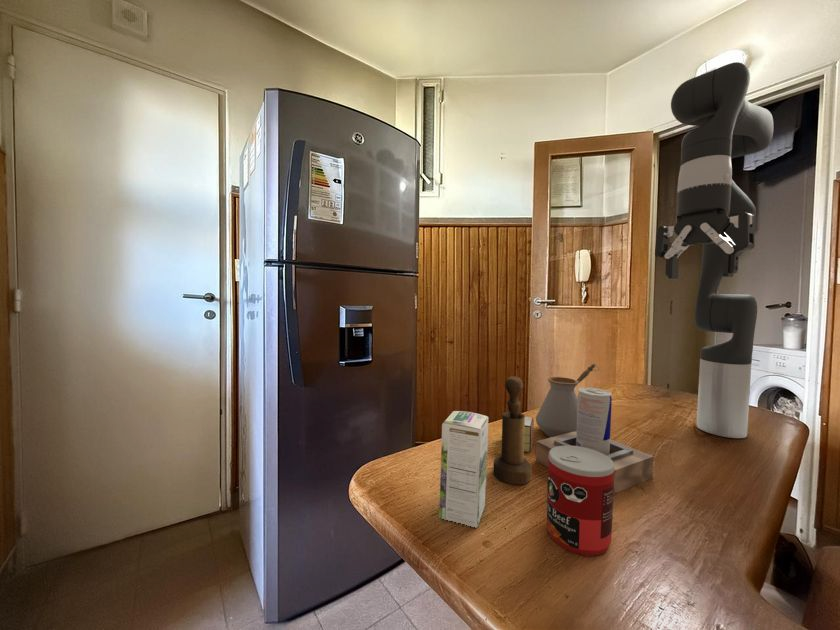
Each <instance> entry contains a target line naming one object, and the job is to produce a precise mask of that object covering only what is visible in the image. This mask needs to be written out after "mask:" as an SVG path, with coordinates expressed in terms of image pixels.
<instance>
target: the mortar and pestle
mask: <svg viewBox="0 0 840 630" xmlns="http://www.w3.org/2000/svg"><path fill="white" fill-rule="evenodd" d="M504 386H505V388H506V390H507V393H508V394H509V400H507V407H508V411H505V412H503V413H502V417H501V418H502V421H501V425H502V426H501V453H500V454H499V455H498V456H496V457H495V458H494V459H493V469H492V471H493V472H492V473H493V475H494V477H495V478H497V480H499V481H501V482H503V483H506V484H510V485H518V486H519V485H525V484H528V483H529V482H531V480H532V465H531V463H530V462H529V461H528V460H527V459H526V458H525V452H524V427H525V417H526V416H525V414H523V413H521V412H520V409H521V404H522V403H521V401H520V400H519V395H520V393H521V392H522V391H523V388H524V383H523V380H522V379H521V378H520V377H518V376H513V375H512V376H509V377H508V378H507V379H506V380H505V385H504Z"/></svg>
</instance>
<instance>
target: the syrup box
mask: <svg viewBox="0 0 840 630" xmlns="http://www.w3.org/2000/svg"><path fill="white" fill-rule="evenodd" d="M488 436H489V416H487V415H484V414H480V413H476V412H472V411H465V410H464V411H462V410H453V411H452V412H451V413H450V415H449V416H448V417H447V418H446V419H445V420H444V421H443V423H442V425H441V446H440V447H441V450H440V451H441V452H440V453H441V455H440V478H439V479H440V483H439V485H440V487H439V513H438V518H439V519H440V518H441V519H440V520H442V519H444V520H443V521H446V520H448V521H447V522H450V521H453V522H452V523H454V522H456V523H455V524H458V523H461V524H460V525H462V524H465V525H464V526H466V525H467V526H466V527H470V526H471V528H474V527H475V529H478V527H479V525H480V522H481V519H482V516H483V513H484V510H485V507H486V498H487V497H486V496H487V495H486V494H487V467H488V465H487V464H488V442H489V441H488V439H489V437H488Z"/></svg>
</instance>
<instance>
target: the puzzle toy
mask: <svg viewBox="0 0 840 630" xmlns="http://www.w3.org/2000/svg"><path fill="white" fill-rule="evenodd" d="M534 421H535V420H534V418H533V417H530V416H525V427H524V453H531V452H532V449H533V444H534V424H535V423H534Z"/></svg>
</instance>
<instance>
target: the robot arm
mask: <svg viewBox="0 0 840 630" xmlns="http://www.w3.org/2000/svg"><path fill="white" fill-rule="evenodd" d="M750 83H751V73H750V70H749V68H748V66H746V65H745V64H744V63H742V62H739V61H738V62H731V63H728V64H725V65H722V66H720V67H718V68H715V69H713V70H711V71H707V72H705V73H702V74H700V75H697V76H695V77H692V78H690V79H688V80H685V81H684V82H683V83H681V84H679V86H678V87H677V88H676V89H675V90H674V93H673V94H672V97H671V101H670V110H671V114H672V115H673V116H674V118H675V120H676V121H678V122H679V123H681V124H683V125H686V126H694V127H695V126H696V128H694V129H692V130H690V131H688V132H687V133H686V134H685V135H684V136H683V138H682V139H681V140H682V141H681V151H680V166H679V167H680V168H679V174H678V181H677V187H676V191H677V196H676V197H677V198H676V222H675V224H674V225H671V226H665V225H664V226H663V225H661V226H658V228H657V231H656V238H655V239H656V241H655V250H654V256H655V257H657V258H662V259H664V260H665V272H664V273H665V276H666V277H667V278H668V279H670V280H677V279H678V278H679V266H680V260H679V259H678V258H679V257H680V256H681V254H682V253H683V252H684V251H686V250H687V249H688V248H689V247H690V246H694V247H695V246H700V245H702V249H701V250H702V253H701V266H700V267H701V268H700V274H699V281H698V287H697V293H696V299H695V305H694V324H695V326H696V328H697V329H698V330H699V331H701V332H712V333H723V334H724V333H726V334H727V333H728V334H732V336H731V338H730V339H729V340H727V341H725V342H723V343H719V344H714V345H708V346H703V347H702V348H701V349H700V354H699V355H700V356H699V357H700V359H699V373H698V375H699V376H698V395H697V407H696V408H697V410H696V411H697V412H696V427H697V428H698V429H699V430H701V431H703V432H706V433H708V434H711V435H715V436H719V437H724V438H730V439H745V438H746V437H747V436H748V425H749V413H750V412H749V408H750V397H751V396H750V394H751V393H750V391H751V376H752V375H751V374H752V359H753V353H754V352H753V351H754V339H755V331H756V324H757V318H758V303H757V300H756V298H755V297H754V296H753V295H752V294H743V293H742V294H740V293H739V294H738V293H737V294H736V293H735V294H734V293H728V294H727V293H720V294H718V290H719V287H720V283H721V282H722V279H723V278H724V277H725V278H730V277H731V278H732V277H734V274H737V273H738V271H739V260H740V256H741V255H743V253H744V252H746V251H749V250H752V249H754V248H755V238H756V237H755V231H756V230H755V229H756V216H757V209H756V206H755V204H754V203H753V201H752V200H751V198H749V196H748V195H747V194H746V193H745V192H744V191H743V190H742V189H741V188H740V187H739V186H738V185H737V184H736V182H735V181H734V180H733V178H732V177H733V167H732V166H733V165H732V159H735V158H739V157H744V156H748V155H752V154H753V155H754V154H757V153H759V152H761V151H764V150H765V149H766V148H768V147H769V146H770V144H771V142H772V140H773V137H774V135H773V134H774V118H773V115H772V113H771V111H769V109H767V108H764V107H762V106H759V105H758V104H755V103H752V102H750V101H748V99H747V98H746V96H747V93H748V90H749V87H750ZM674 233H675V234H676V235H677V237H676V238H675V239H674V240H673V242H672V243H671V246H670V241H671V238H672V237H673V235H674Z"/></svg>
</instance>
